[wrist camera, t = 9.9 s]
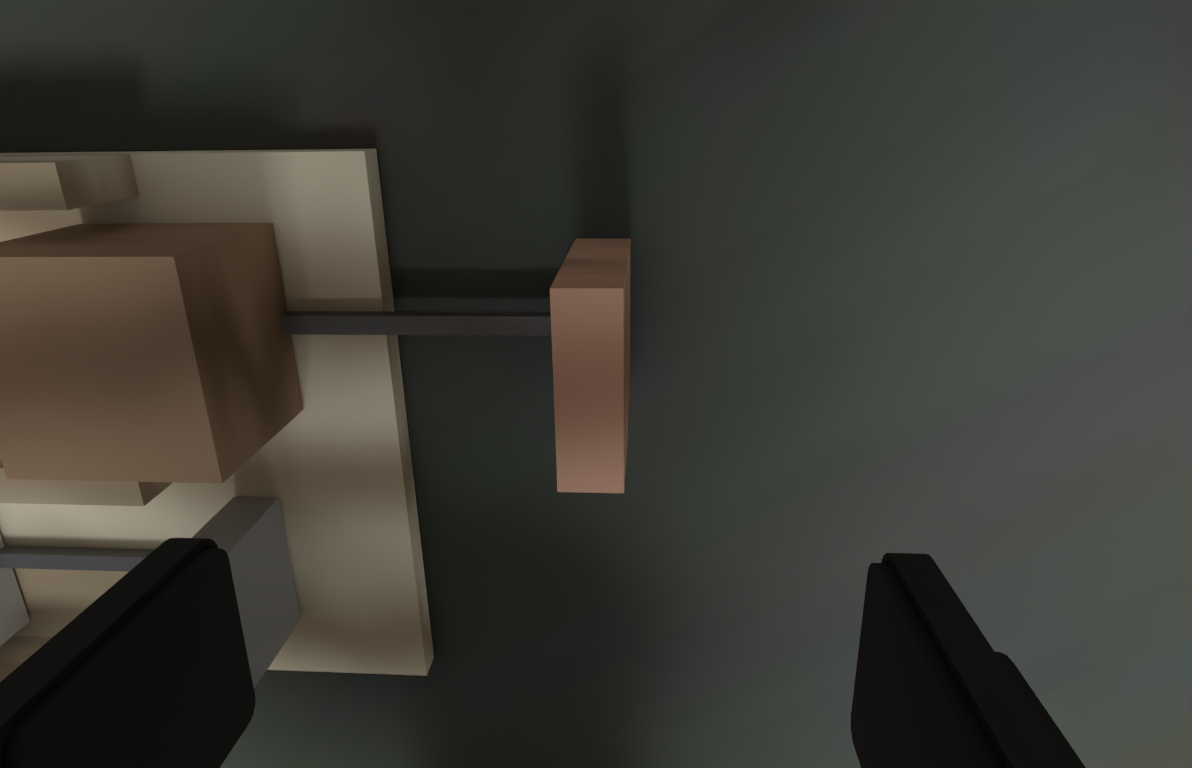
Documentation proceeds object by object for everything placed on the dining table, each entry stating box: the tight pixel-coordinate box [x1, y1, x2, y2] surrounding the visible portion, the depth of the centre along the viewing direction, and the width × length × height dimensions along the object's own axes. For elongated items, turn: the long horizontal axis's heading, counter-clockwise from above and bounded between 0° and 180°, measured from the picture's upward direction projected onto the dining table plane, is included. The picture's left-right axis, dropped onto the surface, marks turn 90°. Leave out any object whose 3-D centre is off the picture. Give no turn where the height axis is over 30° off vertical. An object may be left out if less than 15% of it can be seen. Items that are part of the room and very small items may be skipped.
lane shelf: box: [0, 149, 434, 682], centre depth 25 cm, size 19×23×4 cm
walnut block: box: [0, 223, 631, 493], centre depth 21 cm, size 6×17×6 cm, turn 91°
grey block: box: [0, 497, 301, 689], centre depth 25 cm, size 6×17×6 cm, turn 91°
